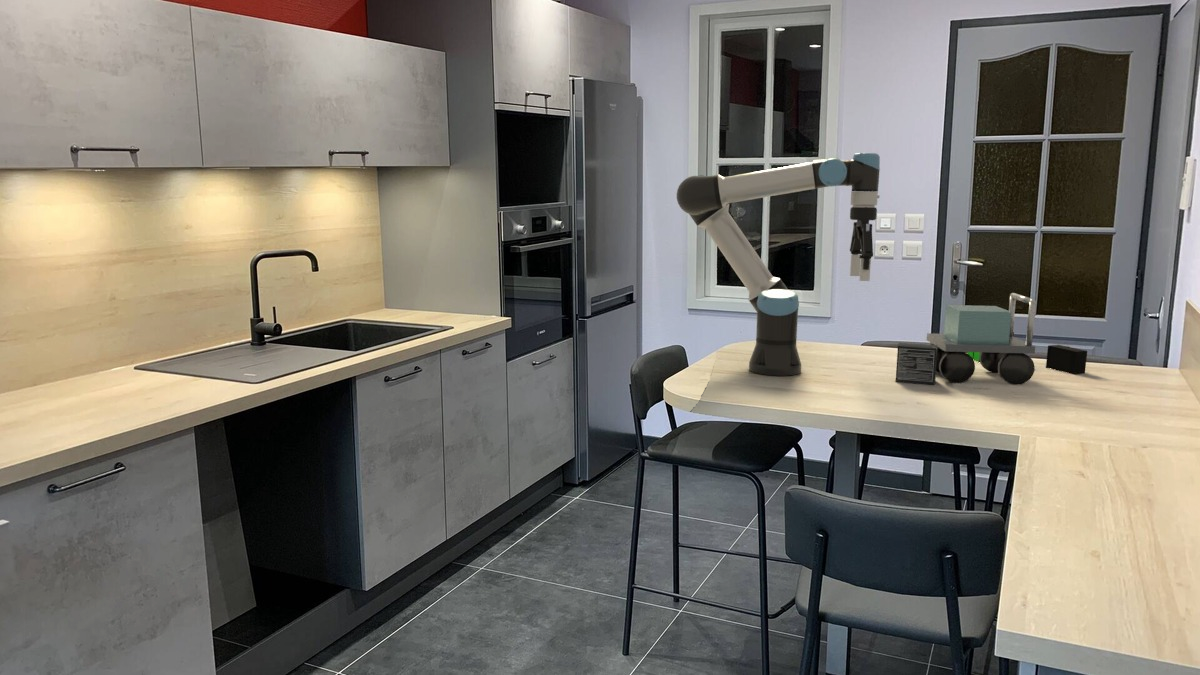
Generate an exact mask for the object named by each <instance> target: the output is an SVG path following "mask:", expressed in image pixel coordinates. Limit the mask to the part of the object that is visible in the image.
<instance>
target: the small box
mask: <svg viewBox="0 0 1200 675" xmlns="http://www.w3.org/2000/svg"><path fill="white" fill-rule="evenodd" d="M937 349H938V345H930V344H923V343H909V342H898V344H897V354H896V371H895V372H896V373H895V383H903V384H904V383H906V384H918V385H931V386H935V385H936V377H937V376H936V375H937V371H936V365H937Z"/></svg>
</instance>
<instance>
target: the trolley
mask: <svg viewBox="0 0 1200 675" xmlns="http://www.w3.org/2000/svg"><path fill="white" fill-rule="evenodd" d="M1017 301H1020V302H1022V303H1025V304H1028V305H1029V306H1028V315H1027V326H1026V336H1025V340H1022V339H1020V338H1018V337H1015V336H1014V337H1013V332H1014V322H1015V314H1016V313H1015V312H1016V302H1017ZM1036 304H1037V301H1036V299H1034V298H1031V297H1028V296H1024V295H1022V294H1018V293H1015V292H1012V293H1010V294H1009V305H1008V310H1007V309H1005V308H1002V307H999V306H997V305H969V304H968V305H965V304H964V305H962V304H961V305H960V304H959V305H958V304H955V305H954V304H946V306H945V317H944V318H945V319H944V331H943V333H927V334H926V341H928V342H929V345H938V349H937V365H936V372H938V373H939V372H940V374H941V376H942V377H943V378H945V380H947V381H948V382H949V383H953V384H962V383H966V382H967V381H968V380H970V379H971V378H972V377H973V375H974V373H975V371H976V363H975V360H973V358H972V357H971V356H970V355H969V354H968V352H980V355H979V360H980V363H979V364H980V365H981V367H982V368H983V369H985V370H987V371H988V372H989V373H992V374H998V376H1000V378H1001V379H1002V380H1003V381H1005V382H1007V383H1008V384H1011V385H1013V386H1014V385H1016V386H1019V385H1023V384H1025V383H1028V382H1029V380H1031V378H1032V377H1033V376H1034V373H1035V369H1036V368H1035V367H1036V366H1035V362H1034V360H1033V359H1032V358H1031V357H1030V356H1029V355H1028V354H1035V353H1036V346H1035V345H1033V339H1034V338H1033V336H1034V328H1035V316H1036Z"/></svg>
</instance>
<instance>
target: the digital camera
mask: <svg viewBox="0 0 1200 675" xmlns="http://www.w3.org/2000/svg"><path fill="white" fill-rule="evenodd" d="M1046 352H1047V353H1046V354H1047V355H1046V362H1045V363H1046V364H1045V368H1046V369H1050V368H1051V370H1054V369H1055V371H1058V370H1059V372H1062V371H1063V372H1064V373H1066V372H1067V373H1068V374H1071V375H1082V374H1083V375H1084V374H1085V373H1086V366H1087V360H1088V359H1087V356H1088V350H1087V349H1080V348H1076V347H1071V346H1068V345H1067V346H1065V345H1062V344H1061V345H1060V344H1053V345H1051V344H1050V345H1048V346H1047V351H1046ZM1063 372H1062V373H1063Z"/></svg>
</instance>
